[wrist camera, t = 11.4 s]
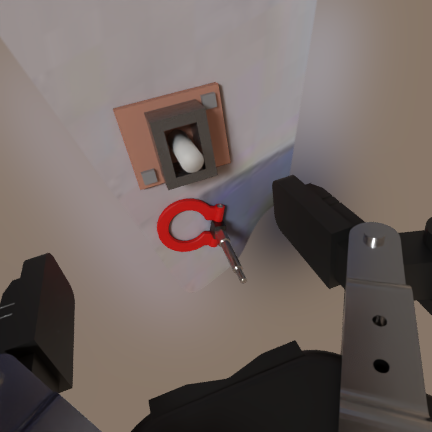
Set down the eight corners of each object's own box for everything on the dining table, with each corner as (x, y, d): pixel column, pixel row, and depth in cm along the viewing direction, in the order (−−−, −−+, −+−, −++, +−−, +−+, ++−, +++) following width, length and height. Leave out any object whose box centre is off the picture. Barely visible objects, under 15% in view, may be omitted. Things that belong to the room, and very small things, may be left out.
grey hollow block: (143, 112, 38) (149, 123, 35) (195, 98, 39) (205, 107, 36) (162, 175, 43) (168, 190, 39) (207, 161, 44) (217, 175, 40)
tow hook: (154, 248, 50) (215, 246, 53) (167, 314, 39) (243, 307, 42) (159, 196, 46) (224, 197, 48) (174, 253, 35) (258, 251, 38)
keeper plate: (113, 108, 38) (118, 131, 31) (215, 82, 40) (241, 98, 33) (139, 186, 43) (148, 219, 37) (227, 159, 45) (251, 186, 39)
